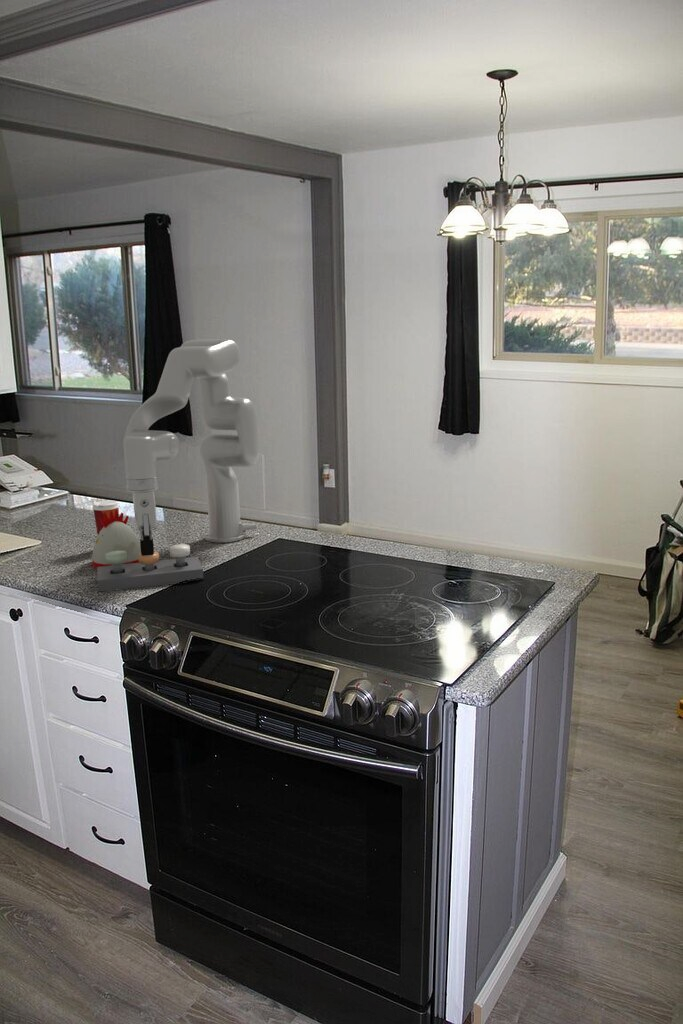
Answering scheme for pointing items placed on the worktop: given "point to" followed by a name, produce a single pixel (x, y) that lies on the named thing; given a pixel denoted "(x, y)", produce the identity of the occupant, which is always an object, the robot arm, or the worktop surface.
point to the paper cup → (104, 507)
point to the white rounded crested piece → (115, 540)
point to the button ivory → (180, 553)
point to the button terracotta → (149, 560)
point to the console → (148, 574)
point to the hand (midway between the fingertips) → (147, 554)
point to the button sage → (116, 560)
